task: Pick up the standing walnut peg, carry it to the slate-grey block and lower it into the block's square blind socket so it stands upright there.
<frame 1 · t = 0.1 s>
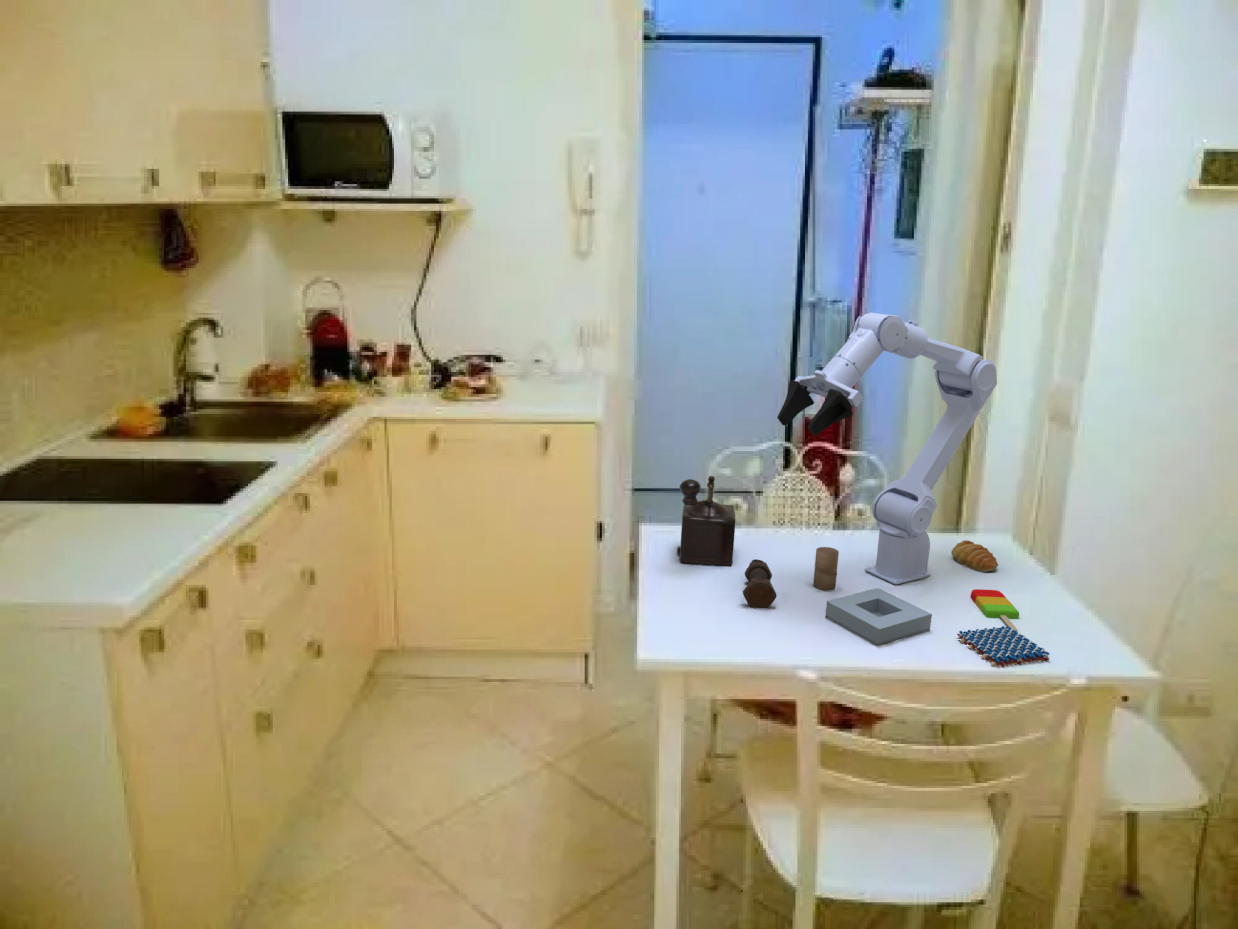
hand: (795, 426, 151), 32 cm above the table, tool tilted 50°, fingers open, 7 cm apart
peg: (824, 586, 167), on the table
woven mat: (1000, 653, 145), on the table
manual coffee grinder: (704, 561, 178), on the table
bolt: (758, 593, 164), on the table
pastry: (974, 564, 180), on the table
popsicle: (998, 617, 157), on the table
socket block: (876, 623, 152), on the table
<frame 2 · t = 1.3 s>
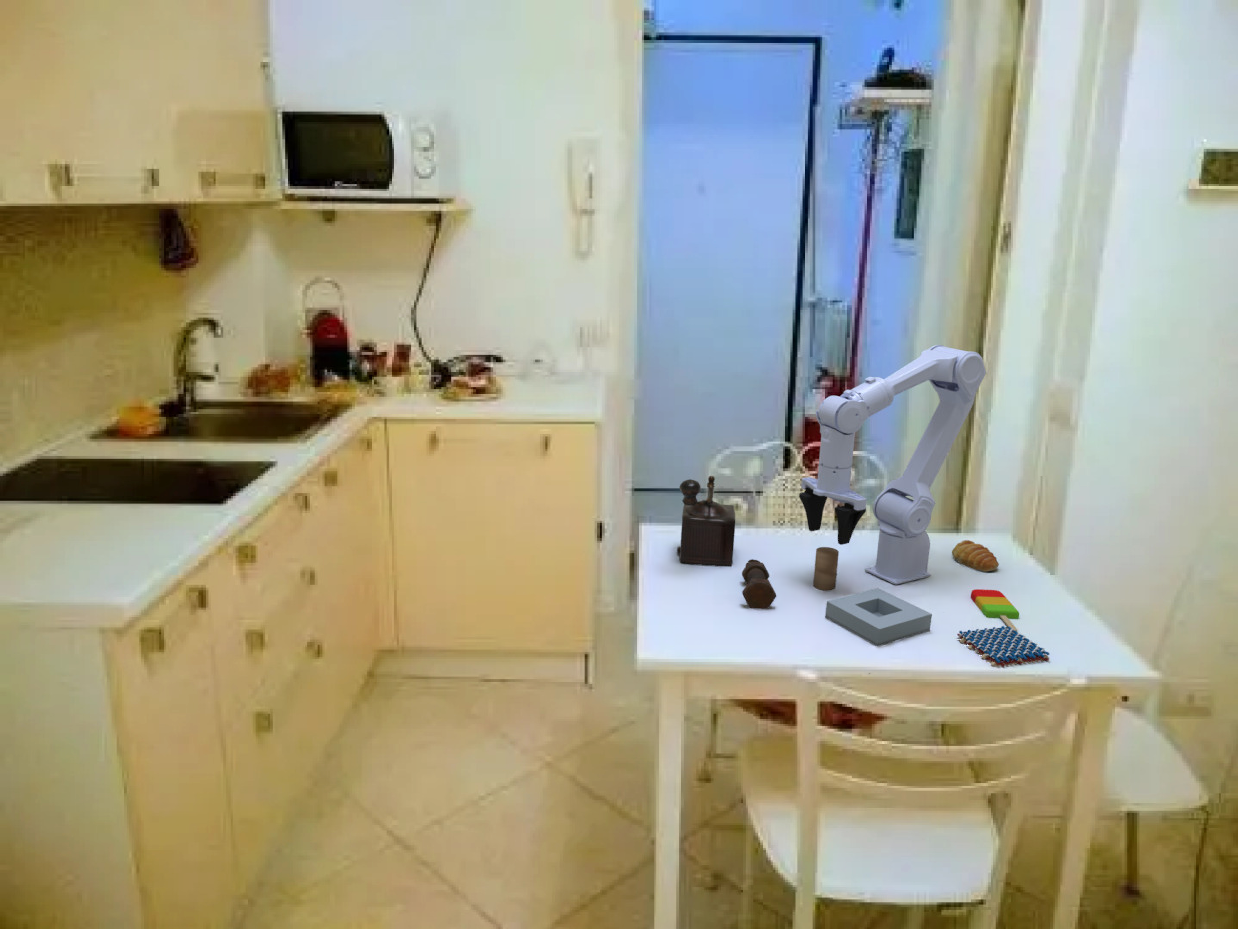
hand: (828, 536, 164), 10 cm above the table, tool pointing down, fingers open, 7 cm apart
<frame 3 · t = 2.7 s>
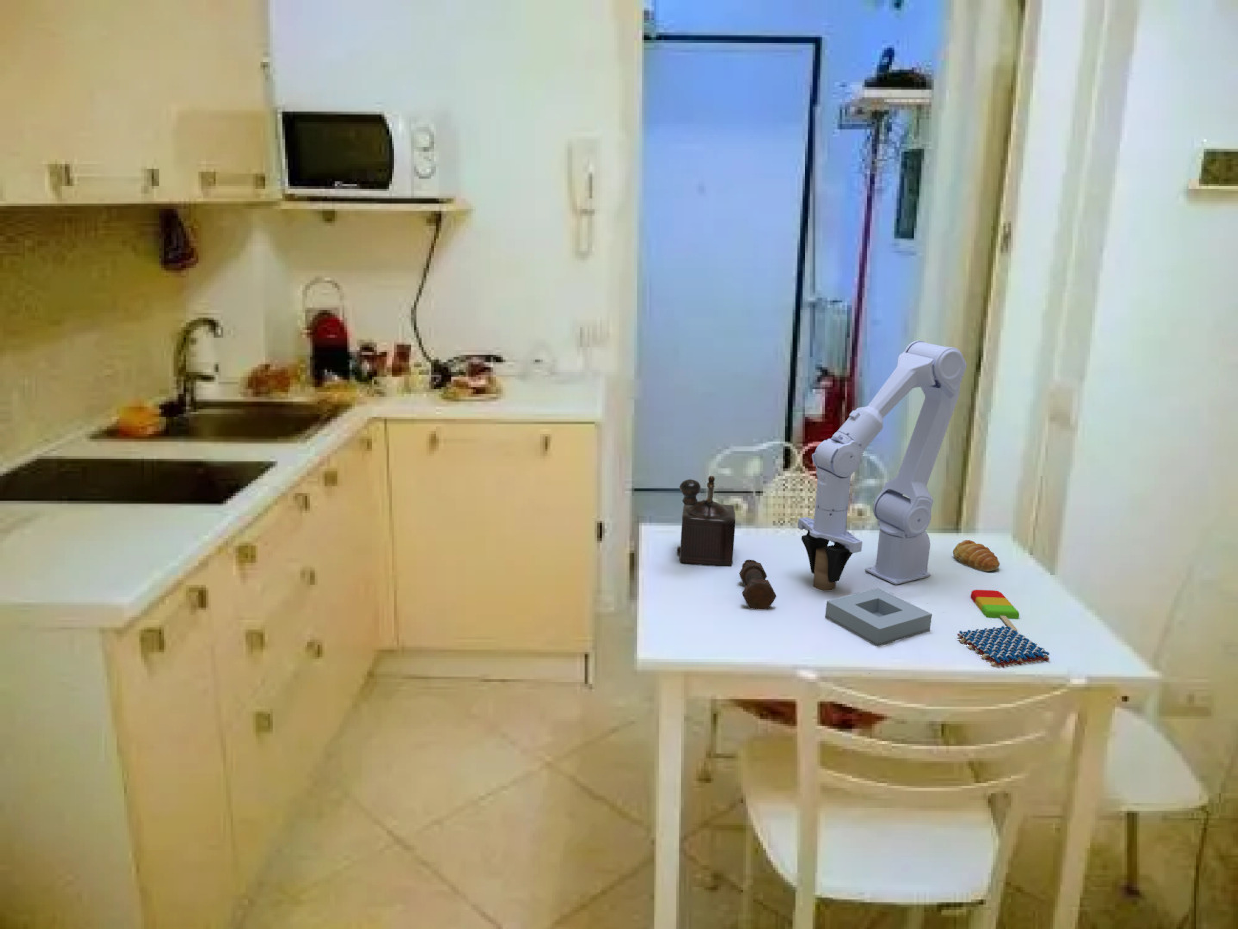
hand: (825, 576, 166), 2 cm above the table, tool pointing down, fingers closed on peg, 4 cm apart
peg: (824, 586, 167), on the table, touching gripper
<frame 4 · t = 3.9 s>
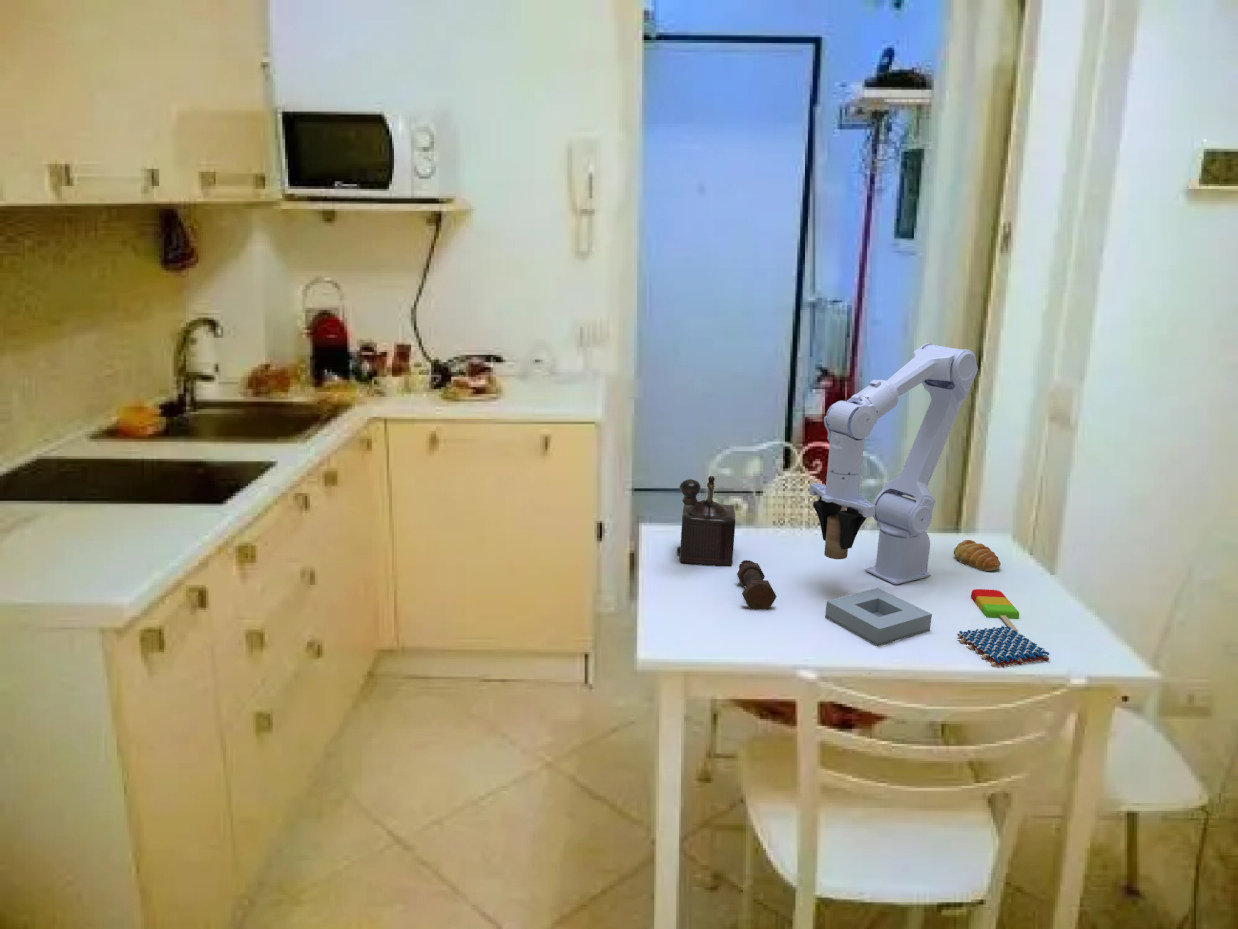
hand: (837, 543, 162), 9 cm above the table, tool pointing down, fingers closed on peg, 4 cm apart
peg: (835, 555, 162), point 7 cm above the table, touching gripper
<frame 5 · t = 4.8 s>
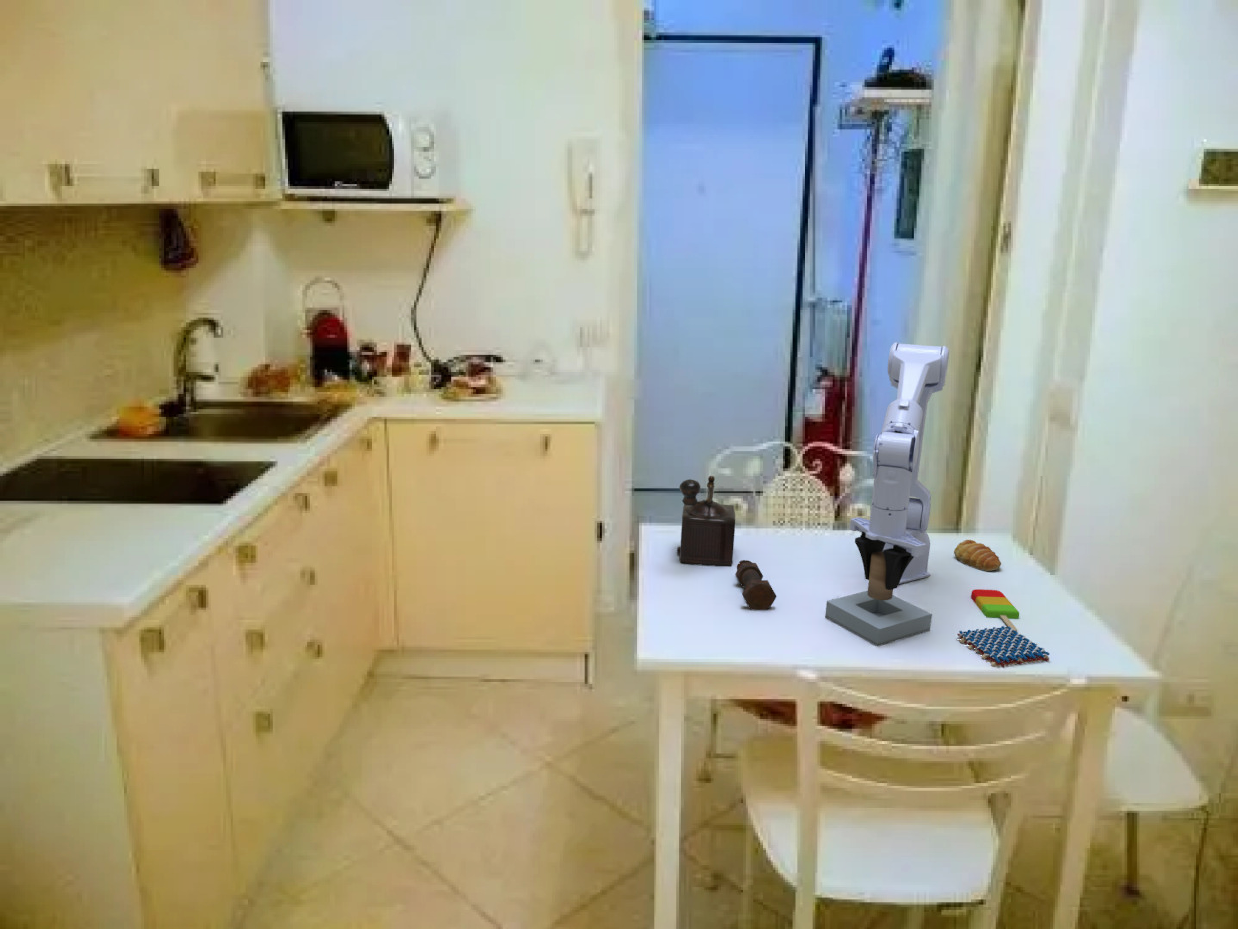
hand: (881, 583, 150), 7 cm above the table, tool pointing down, fingers closed on peg, 4 cm apart
peg: (879, 595, 151), point 5 cm above the table, touching gripper
when the fingers open (3 cm above the table, at t = 5.9 s): peg stays where it is, resting on socket block.
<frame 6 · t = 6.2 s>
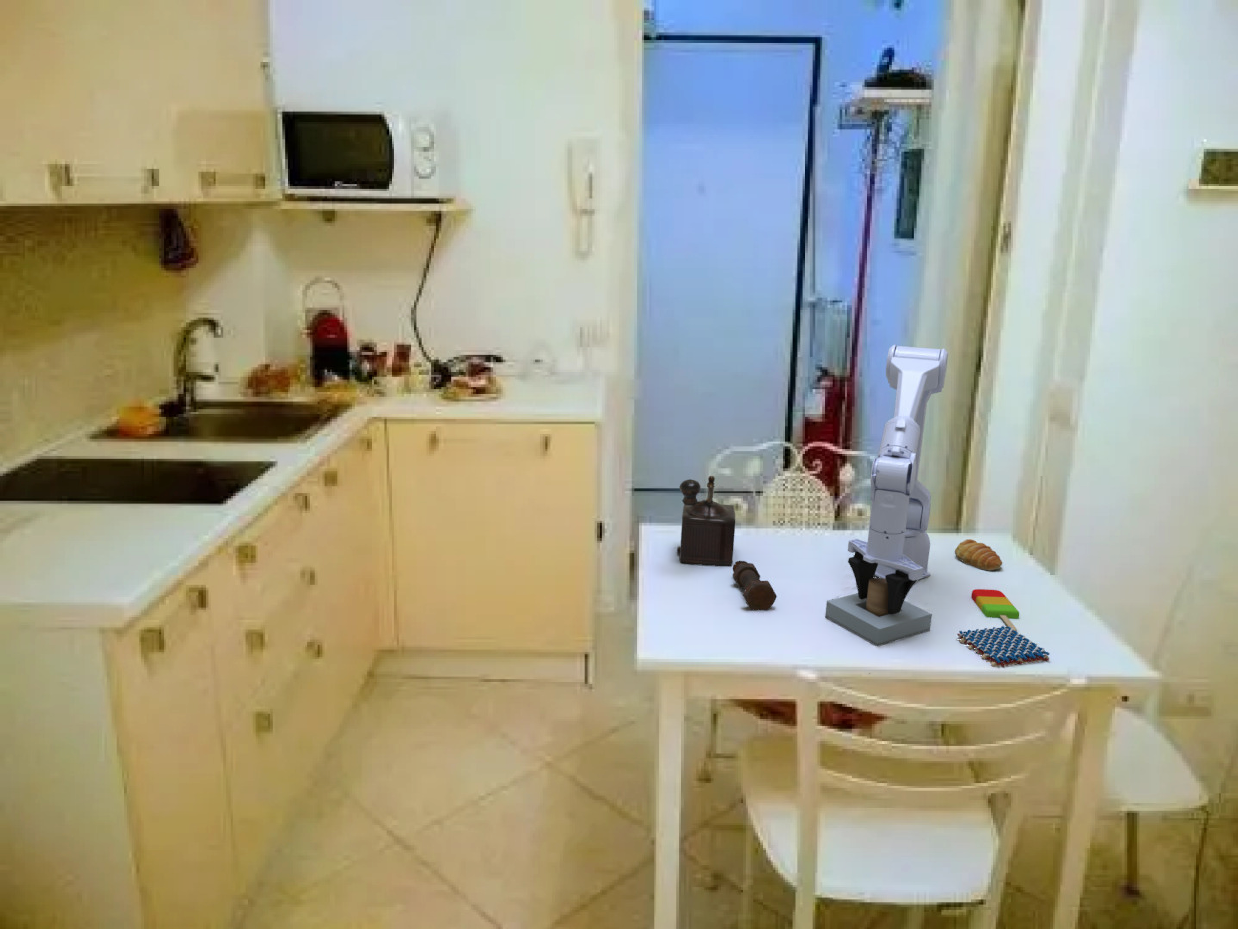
hand: (878, 605, 151), 3 cm above the table, tool pointing down, fingers open, 6 cm apart
peg: (876, 621, 152), point 1 cm above the table, touching socket block
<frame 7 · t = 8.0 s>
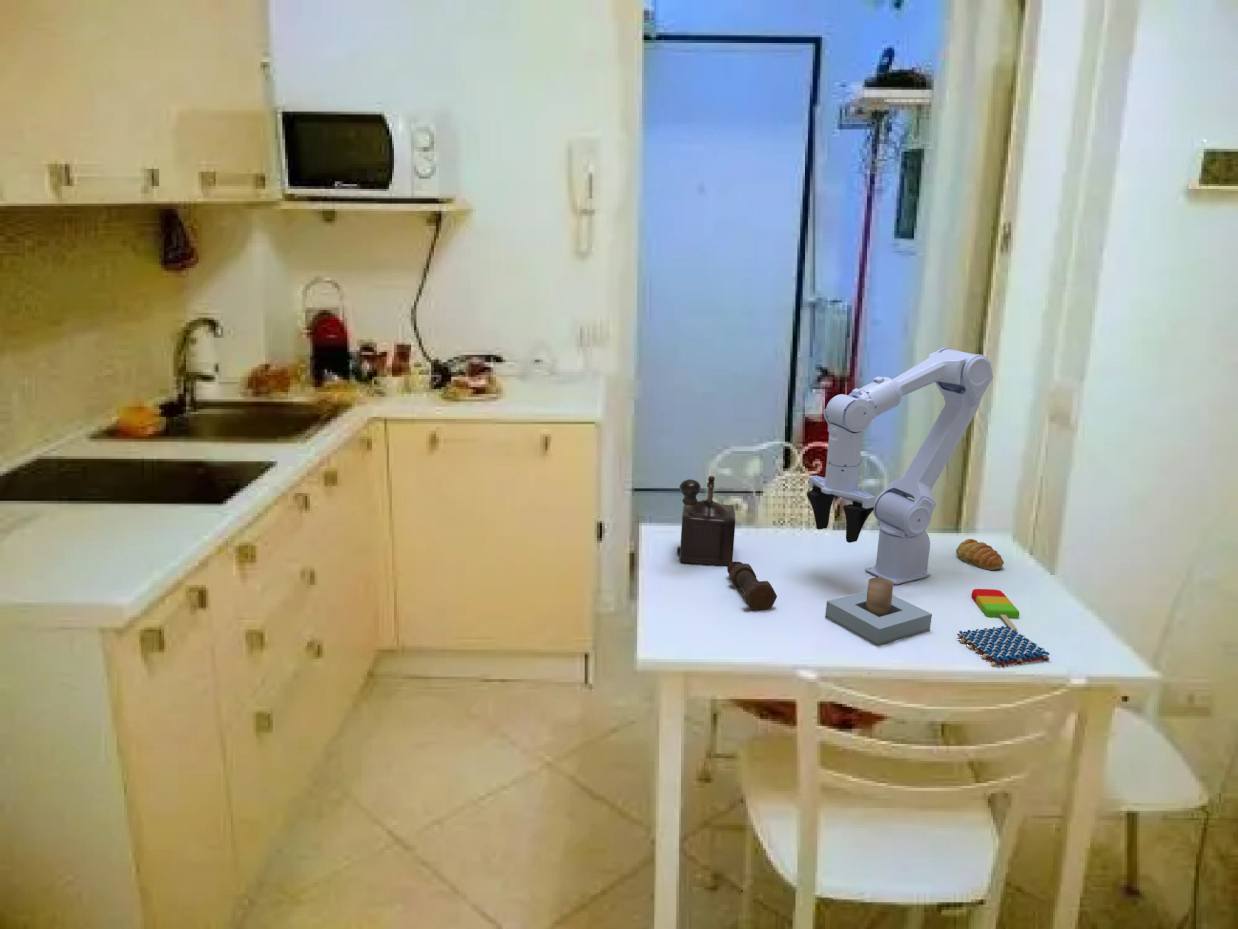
hand: (836, 534, 165), 10 cm above the table, tool pointing down, fingers open, 7 cm apart
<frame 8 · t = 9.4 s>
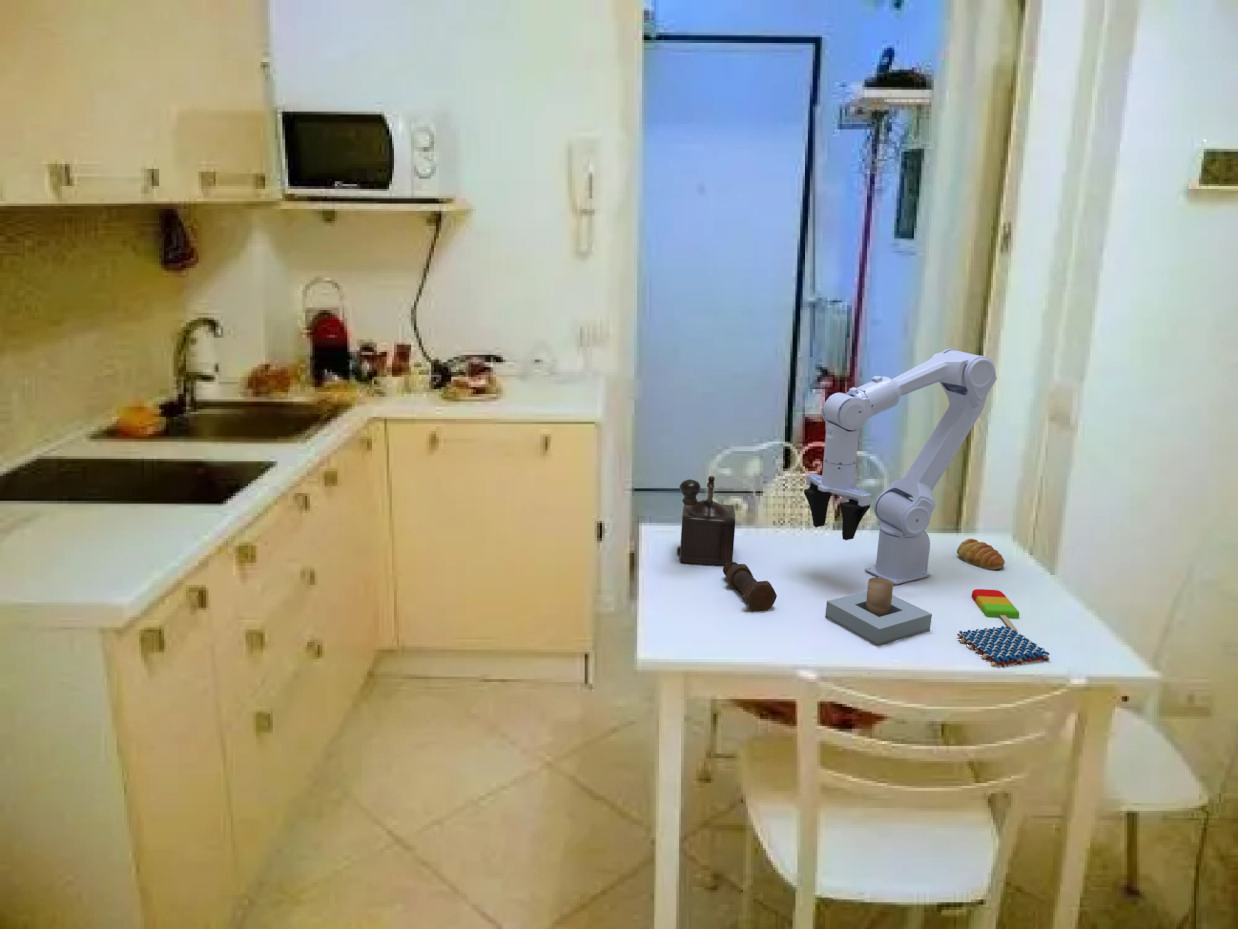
hand: (833, 532, 166), 10 cm above the table, tool pointing down, fingers open, 7 cm apart
at the end: peg 0.0 cm off-centre on the socket block, point 0.5 cm above the socket block's base; peg tilted 1°; the gripper is holding nothing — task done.
